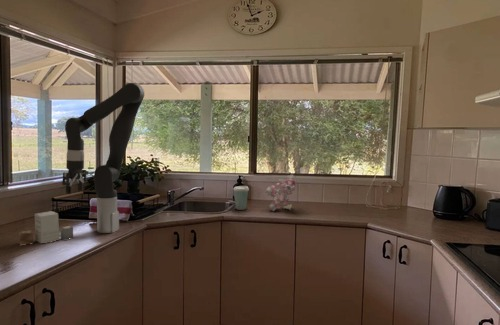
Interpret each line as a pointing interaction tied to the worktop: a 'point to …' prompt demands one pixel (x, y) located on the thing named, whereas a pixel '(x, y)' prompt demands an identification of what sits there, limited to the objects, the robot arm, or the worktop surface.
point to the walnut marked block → (26, 237)
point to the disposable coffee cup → (241, 196)
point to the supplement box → (46, 227)
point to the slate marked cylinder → (66, 232)
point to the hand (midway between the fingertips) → (74, 192)
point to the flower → (285, 187)
